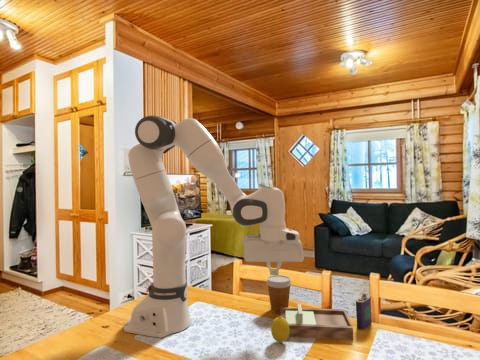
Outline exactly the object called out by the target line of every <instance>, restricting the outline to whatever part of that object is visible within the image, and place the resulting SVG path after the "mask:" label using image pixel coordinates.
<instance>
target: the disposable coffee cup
mask: <svg viewBox="0 0 480 360" xmlns="http://www.w3.org/2000/svg"><path fill="white" fill-rule="evenodd" d="M265 282H266V285H267V289H268V296H269V304H270V310H271V312H272V313H274V314H280V315H281V307H287V308H289V303H290V293H291V292H290V291H291V286H292V280H291V278H290V277H289V276H287V275H283V274H279V275H269V276H268V277H267V280H266V281H265Z"/></svg>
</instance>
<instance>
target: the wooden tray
mask: <svg viewBox="0 0 480 360" xmlns="http://www.w3.org/2000/svg"><path fill="white" fill-rule="evenodd" d="M286 310H287V311H298V307H288V308H287V307H281V314H280V316H281V317H283V318H284V319H286ZM302 311H313V313H314V317H315V321H316V325H312V324H289V323H288V325H289V329H290V332H289V337H288V338H308V339H326V340H345V341H347V340H349V341H351V340H352V341H353V340H354V327H353V325H352V323H351V321H350V319H349V317H348V314H347V312H346V310H345V309H336V308H335V309H334V308H314V307H313V308H311V307H310V308H309V307H308V308H307V307H302Z"/></svg>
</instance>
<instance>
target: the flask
mask: <svg viewBox="0 0 480 360" xmlns="http://www.w3.org/2000/svg"><path fill="white" fill-rule="evenodd" d="M361 294H362V295H361V297H359V298H357V299H356V300H355V305H356V306H355V312H356V313H355V314H356V316H355V317H356V329H357V328H358V329H357V330H359V329H361V330H360V331H365V330H367V328H369V326H370V325H371V324H372V302H371V301H372V299H371V298H372V296H371V295H370V294H369V293H364V292H361ZM364 329H365V330H364Z"/></svg>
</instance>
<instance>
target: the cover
mask: <svg viewBox="0 0 480 360" xmlns="http://www.w3.org/2000/svg"><path fill="white" fill-rule="evenodd" d="M297 308H298V311H287V310H286V320H287V322H288V323H289V324H312V325H316V321H315V317H314V313H313V311H302V308H303V307H302V303H297Z"/></svg>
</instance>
